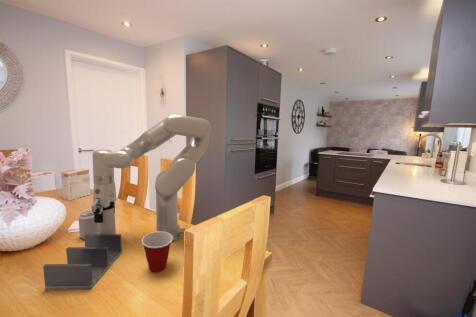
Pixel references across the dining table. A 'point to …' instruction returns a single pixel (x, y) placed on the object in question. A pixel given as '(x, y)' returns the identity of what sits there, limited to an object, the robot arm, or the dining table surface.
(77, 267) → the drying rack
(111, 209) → the travel mug
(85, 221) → the can
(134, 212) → the dining table surface
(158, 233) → the plastic cup
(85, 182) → the coffeecake box
